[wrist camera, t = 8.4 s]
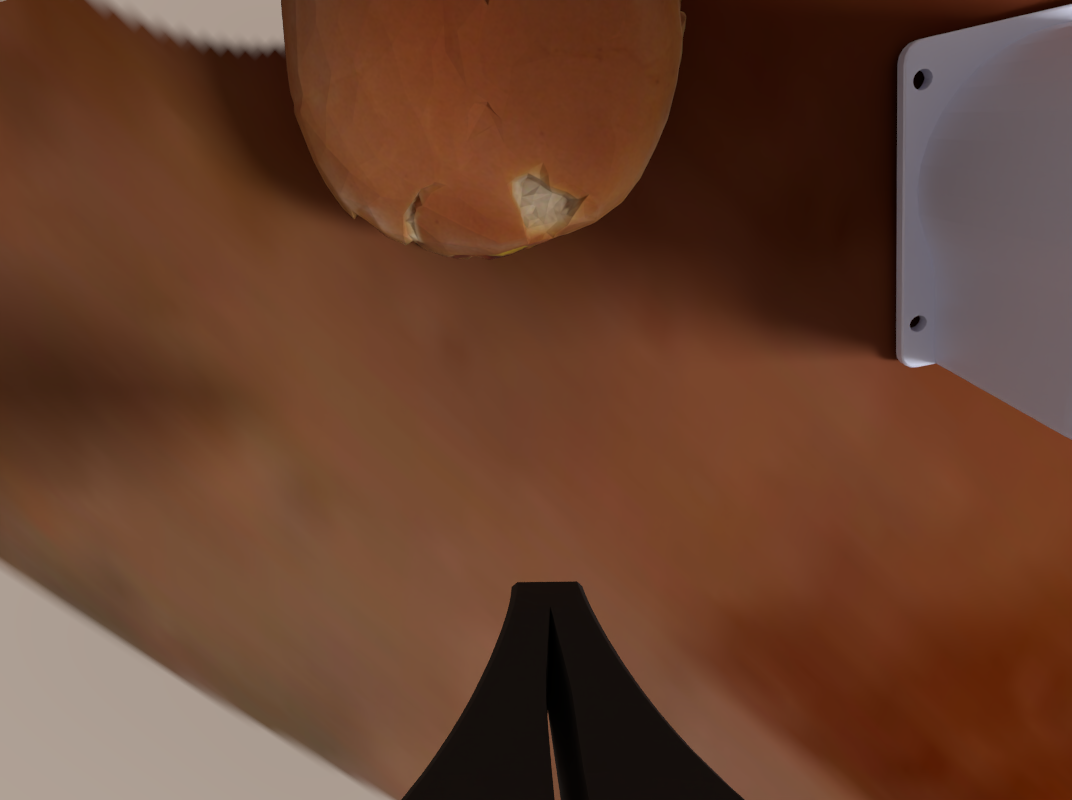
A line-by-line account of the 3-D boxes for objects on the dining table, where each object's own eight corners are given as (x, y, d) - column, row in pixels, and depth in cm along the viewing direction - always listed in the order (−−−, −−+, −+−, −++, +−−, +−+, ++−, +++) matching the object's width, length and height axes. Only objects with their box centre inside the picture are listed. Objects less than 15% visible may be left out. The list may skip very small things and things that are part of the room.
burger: (503, -258, 15) (499, -404, 11) (732, 73, 18) (799, 60, 14) (235, 59, 18) (148, 41, 13) (476, 306, 21) (467, 356, 16)
